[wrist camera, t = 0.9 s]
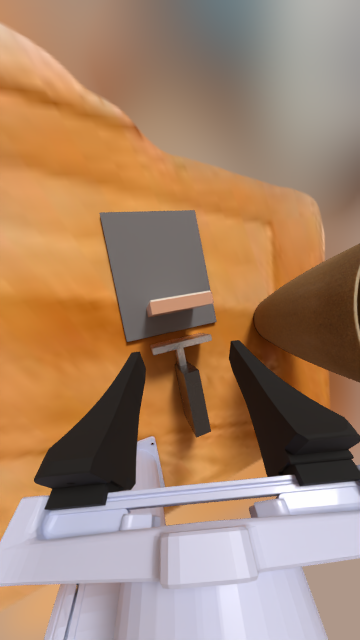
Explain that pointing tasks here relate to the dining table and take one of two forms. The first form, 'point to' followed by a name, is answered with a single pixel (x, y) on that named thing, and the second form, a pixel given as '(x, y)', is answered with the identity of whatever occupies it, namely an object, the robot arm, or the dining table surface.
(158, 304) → the tile
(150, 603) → the robot arm
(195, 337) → the turner
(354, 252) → the plant pot
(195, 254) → the mat
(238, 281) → the dining table surface
